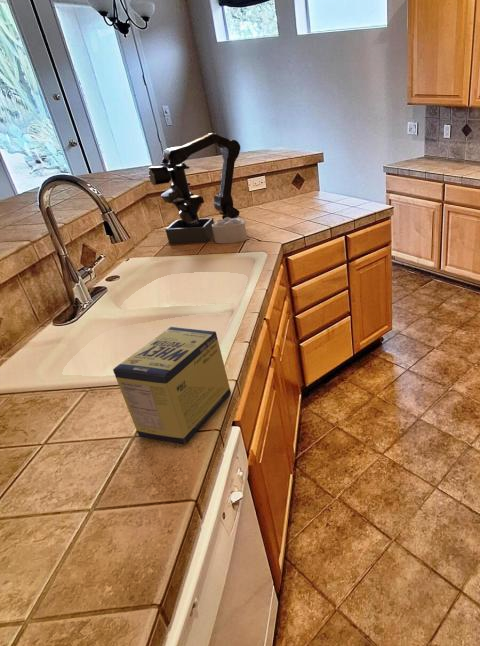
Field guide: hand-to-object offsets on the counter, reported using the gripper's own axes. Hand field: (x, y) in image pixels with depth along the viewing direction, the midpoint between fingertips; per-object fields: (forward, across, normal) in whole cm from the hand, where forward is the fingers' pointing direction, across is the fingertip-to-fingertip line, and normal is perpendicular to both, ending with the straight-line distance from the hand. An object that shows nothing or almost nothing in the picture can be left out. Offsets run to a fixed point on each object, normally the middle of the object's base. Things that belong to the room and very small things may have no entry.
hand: (189, 218), depth 184 cm
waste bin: (+9, 0, 0) cm, 9 cm away
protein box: (+9, +102, -71) cm, 125 cm away
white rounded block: (+9, +16, +7) cm, 20 cm away
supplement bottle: (+6, +1, +1) cm, 6 cm away
